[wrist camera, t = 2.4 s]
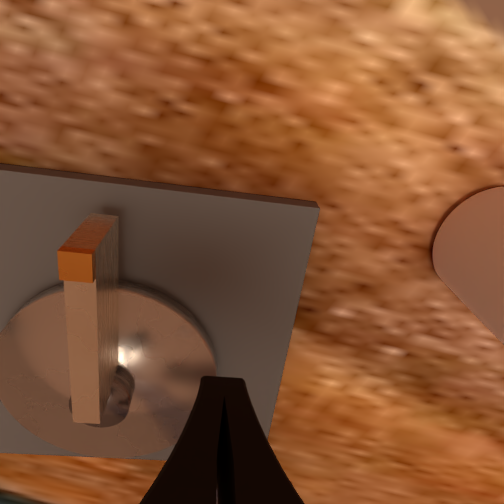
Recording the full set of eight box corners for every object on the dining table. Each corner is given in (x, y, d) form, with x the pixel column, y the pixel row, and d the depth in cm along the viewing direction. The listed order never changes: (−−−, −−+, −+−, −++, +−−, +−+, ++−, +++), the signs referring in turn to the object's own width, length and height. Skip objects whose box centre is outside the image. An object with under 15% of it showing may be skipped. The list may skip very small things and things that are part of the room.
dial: (206, 445, 26) (202, 527, 22) (14, 436, 25) (-34, 520, 20) (237, 220, 20) (241, 269, 15) (-24, 190, 18) (-108, 234, 14)
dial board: (260, 451, 29) (261, 466, 28) (-53, 436, 26) (-64, 452, 25) (315, 201, 21) (320, 209, 20) (-127, 148, 18) (-148, 153, 17)
